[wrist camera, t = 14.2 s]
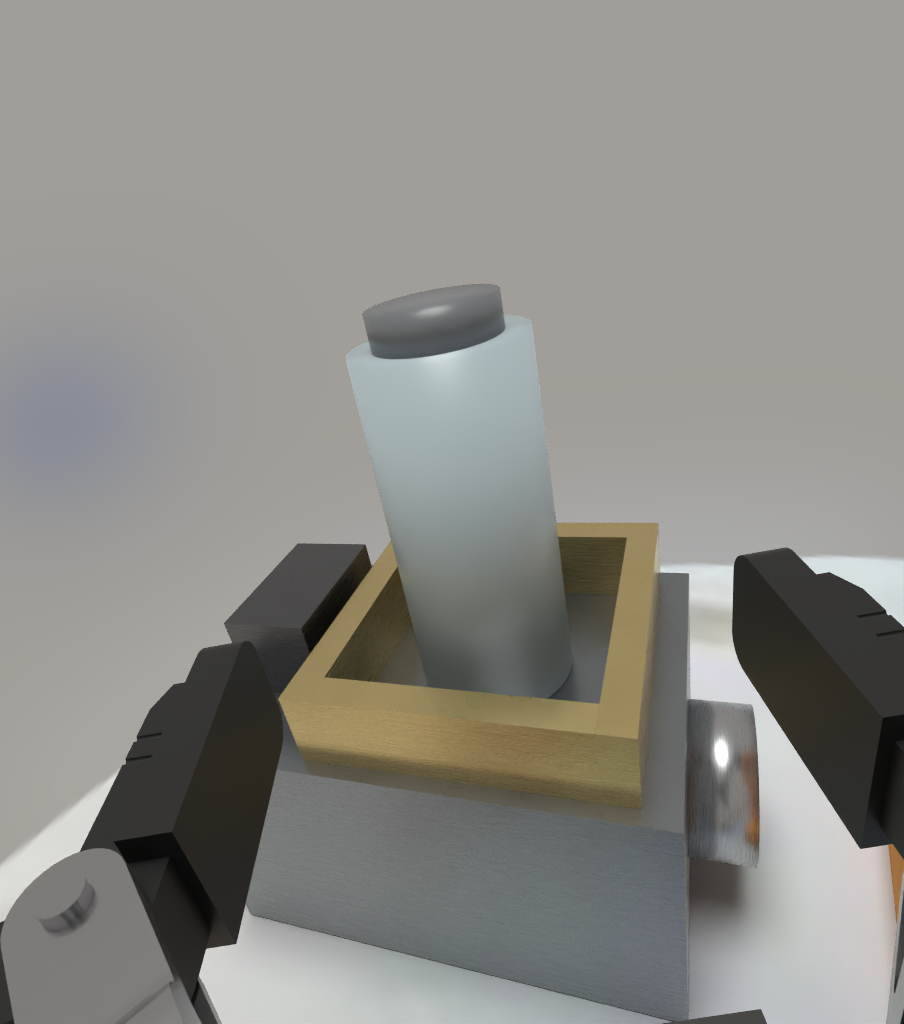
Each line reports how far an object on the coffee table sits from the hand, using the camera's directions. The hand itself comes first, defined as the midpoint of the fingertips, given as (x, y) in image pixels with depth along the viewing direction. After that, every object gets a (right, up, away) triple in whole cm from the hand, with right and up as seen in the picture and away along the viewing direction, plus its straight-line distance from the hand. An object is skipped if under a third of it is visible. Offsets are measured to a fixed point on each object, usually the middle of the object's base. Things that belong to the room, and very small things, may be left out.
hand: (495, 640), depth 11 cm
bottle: (+1, -3, +11) cm, 12 cm away
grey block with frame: (+1, -11, +16) cm, 20 cm away
